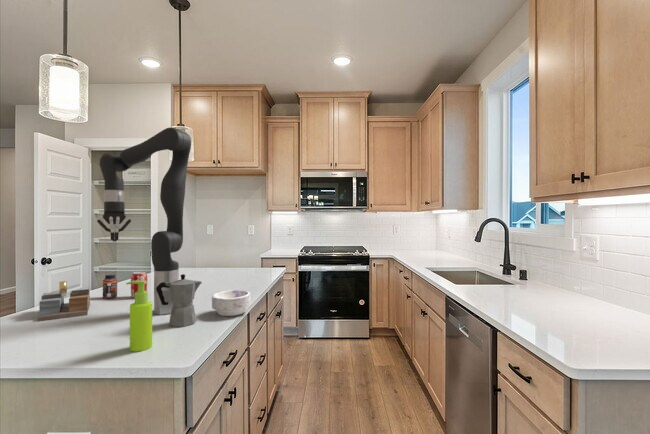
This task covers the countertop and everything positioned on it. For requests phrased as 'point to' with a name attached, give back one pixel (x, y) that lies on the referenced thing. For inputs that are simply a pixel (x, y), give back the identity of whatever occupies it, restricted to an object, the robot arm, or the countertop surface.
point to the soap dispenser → (140, 319)
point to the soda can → (134, 287)
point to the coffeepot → (180, 301)
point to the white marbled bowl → (231, 302)
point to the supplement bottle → (109, 286)
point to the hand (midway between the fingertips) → (114, 241)
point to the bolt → (60, 289)
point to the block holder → (64, 305)
